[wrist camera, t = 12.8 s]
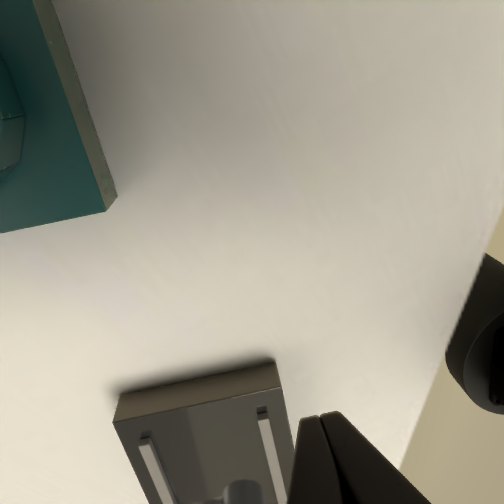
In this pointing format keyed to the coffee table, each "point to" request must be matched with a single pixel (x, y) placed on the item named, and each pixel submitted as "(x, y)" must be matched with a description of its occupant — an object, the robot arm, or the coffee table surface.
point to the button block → (44, 125)
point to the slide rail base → (210, 439)
